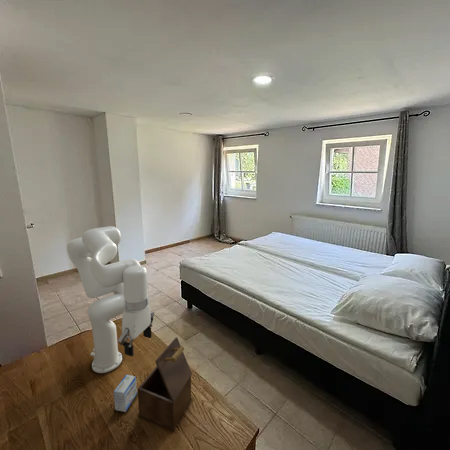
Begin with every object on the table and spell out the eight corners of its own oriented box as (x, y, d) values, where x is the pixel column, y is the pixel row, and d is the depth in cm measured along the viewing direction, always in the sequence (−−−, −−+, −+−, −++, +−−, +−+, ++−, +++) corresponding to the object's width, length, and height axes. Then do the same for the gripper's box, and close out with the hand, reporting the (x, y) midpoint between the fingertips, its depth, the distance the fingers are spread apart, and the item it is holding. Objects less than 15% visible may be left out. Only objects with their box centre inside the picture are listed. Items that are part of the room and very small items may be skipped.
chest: (139, 415, 89) (137, 388, 87) (159, 387, 101) (158, 363, 98) (173, 430, 84) (172, 403, 82) (191, 399, 96) (191, 374, 93)
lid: (154, 361, 81) (166, 360, 79) (175, 337, 92) (186, 335, 90) (172, 402, 82) (183, 402, 80) (190, 373, 93) (201, 373, 91)
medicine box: (125, 413, 90) (124, 393, 88) (114, 410, 91) (113, 391, 89) (137, 394, 98) (136, 376, 96) (127, 391, 98) (125, 373, 96)
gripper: (143, 288, 92) (145, 328, 96) (108, 313, 76) (111, 359, 80) (160, 292, 90) (161, 333, 94) (127, 319, 74) (130, 366, 78)
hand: (138, 345), depth 87 cm, fingers open, 9 cm apart
